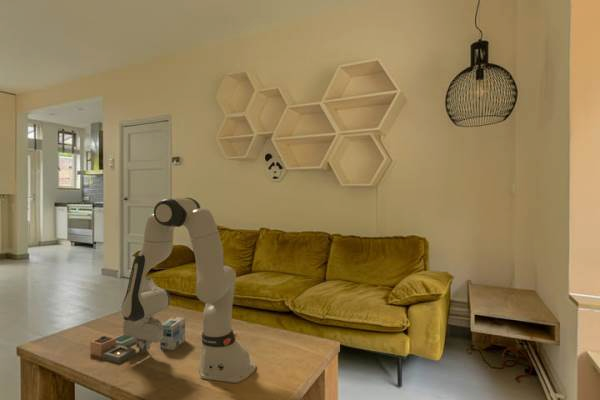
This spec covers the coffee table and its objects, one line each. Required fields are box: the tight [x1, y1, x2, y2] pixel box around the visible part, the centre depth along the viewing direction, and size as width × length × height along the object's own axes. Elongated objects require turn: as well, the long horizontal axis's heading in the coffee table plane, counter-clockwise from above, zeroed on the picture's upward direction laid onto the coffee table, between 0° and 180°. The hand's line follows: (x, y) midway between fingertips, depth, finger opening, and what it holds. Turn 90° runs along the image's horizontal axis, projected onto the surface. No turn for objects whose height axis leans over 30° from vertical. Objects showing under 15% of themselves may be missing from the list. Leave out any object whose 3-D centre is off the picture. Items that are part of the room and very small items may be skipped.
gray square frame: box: [101, 345, 137, 364], centre depth 139 cm, size 10×8×3 cm
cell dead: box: [99, 335, 108, 343], centre depth 143 cm, size 3×3×6 cm
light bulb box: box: [159, 316, 186, 351], centre depth 152 cm, size 11×7×11 cm, turn 168°
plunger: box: [113, 350, 125, 355], centre depth 139 cm, size 5×5×1 cm
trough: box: [114, 333, 136, 347], centre depth 154 cm, size 8×14×3 cm, turn 157°
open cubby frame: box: [89, 335, 116, 358], centre depth 143 cm, size 7×7×6 cm
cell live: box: [138, 339, 149, 355], centre depth 143 cm, size 3×3×6 cm
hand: (143, 348), depth 143 cm, fingers closed on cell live, 3 cm apart
